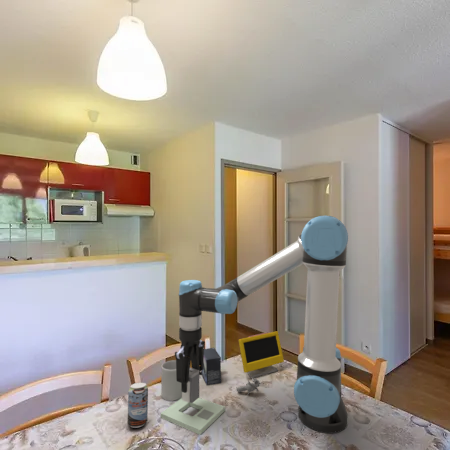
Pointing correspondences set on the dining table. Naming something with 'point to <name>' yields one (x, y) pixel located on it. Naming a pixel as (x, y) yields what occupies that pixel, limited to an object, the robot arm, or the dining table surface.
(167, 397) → the mug
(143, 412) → the beverage can
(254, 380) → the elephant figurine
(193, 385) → the block
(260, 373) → the toy computer monitor
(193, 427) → the outlet plate
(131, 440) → the dining table surface
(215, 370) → the small box
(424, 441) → the dining table surface
